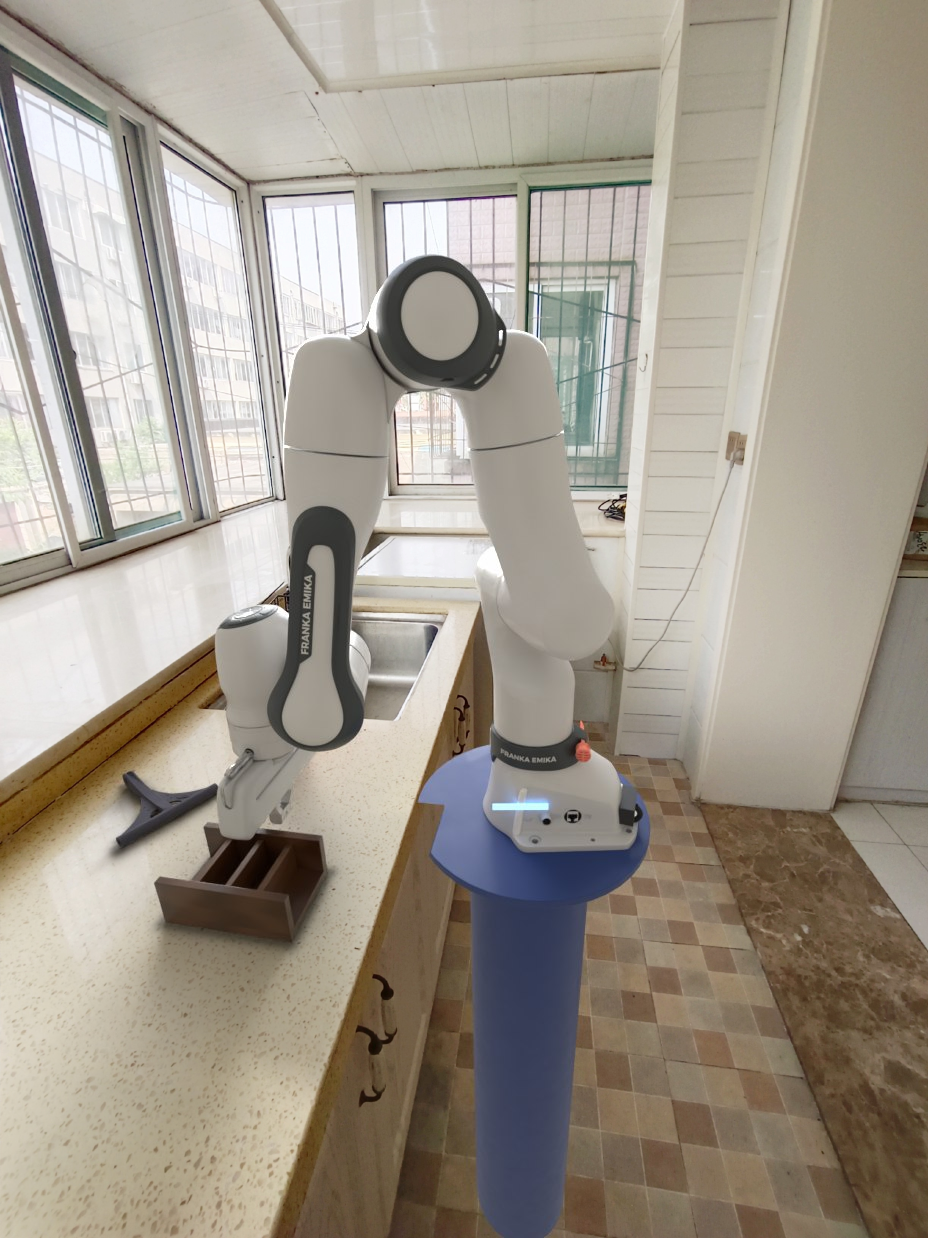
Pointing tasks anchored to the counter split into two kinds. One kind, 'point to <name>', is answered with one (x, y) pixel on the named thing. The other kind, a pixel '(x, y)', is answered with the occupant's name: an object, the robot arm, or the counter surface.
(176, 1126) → the counter surface
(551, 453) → the robot arm
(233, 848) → the rack
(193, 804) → the bracket
